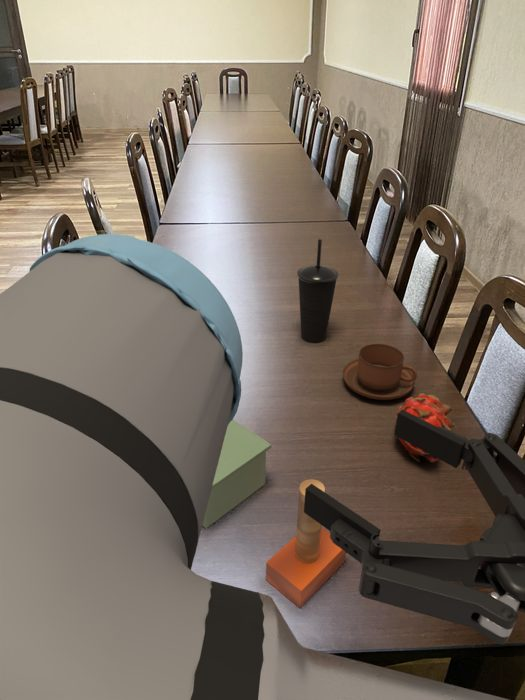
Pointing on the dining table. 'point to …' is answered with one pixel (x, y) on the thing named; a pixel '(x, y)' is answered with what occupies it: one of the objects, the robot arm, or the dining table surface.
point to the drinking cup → (316, 298)
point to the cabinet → (236, 471)
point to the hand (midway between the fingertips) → (356, 456)
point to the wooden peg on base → (304, 557)
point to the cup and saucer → (380, 373)
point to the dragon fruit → (426, 419)
